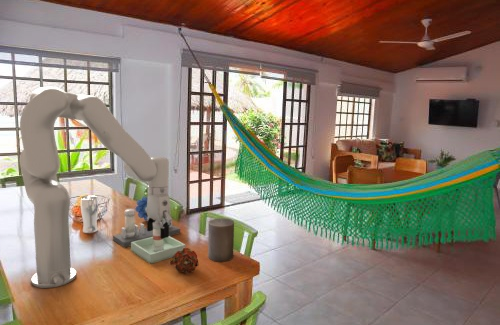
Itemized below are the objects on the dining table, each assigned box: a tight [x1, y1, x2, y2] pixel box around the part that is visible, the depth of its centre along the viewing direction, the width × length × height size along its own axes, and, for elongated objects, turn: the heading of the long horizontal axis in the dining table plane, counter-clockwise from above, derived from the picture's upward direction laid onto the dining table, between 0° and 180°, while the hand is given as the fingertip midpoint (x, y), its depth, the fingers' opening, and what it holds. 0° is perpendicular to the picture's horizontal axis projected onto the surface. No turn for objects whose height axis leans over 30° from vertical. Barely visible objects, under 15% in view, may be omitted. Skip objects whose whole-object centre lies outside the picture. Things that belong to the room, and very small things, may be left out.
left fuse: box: [124, 208, 136, 238], centre depth 148 cm, size 4×4×11 cm
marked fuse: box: [153, 220, 164, 252], centre depth 139 cm, size 4×4×11 cm
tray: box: [130, 236, 186, 265], centre depth 139 cm, size 15×15×4 cm
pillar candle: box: [207, 217, 235, 263], centre depth 137 cm, size 10×10×15 cm
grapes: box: [135, 196, 148, 221], centre depth 174 cm, size 12×7×12 cm, turn 130°
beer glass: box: [80, 195, 99, 234], centre depth 157 cm, size 7×7×15 cm
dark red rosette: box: [169, 247, 199, 274], centre depth 125 cm, size 8×8×12 cm
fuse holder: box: [112, 220, 181, 248], centre depth 155 cm, size 10×26×6 cm, turn 134°
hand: (157, 234), depth 138 cm, fingers open, 9 cm apart
